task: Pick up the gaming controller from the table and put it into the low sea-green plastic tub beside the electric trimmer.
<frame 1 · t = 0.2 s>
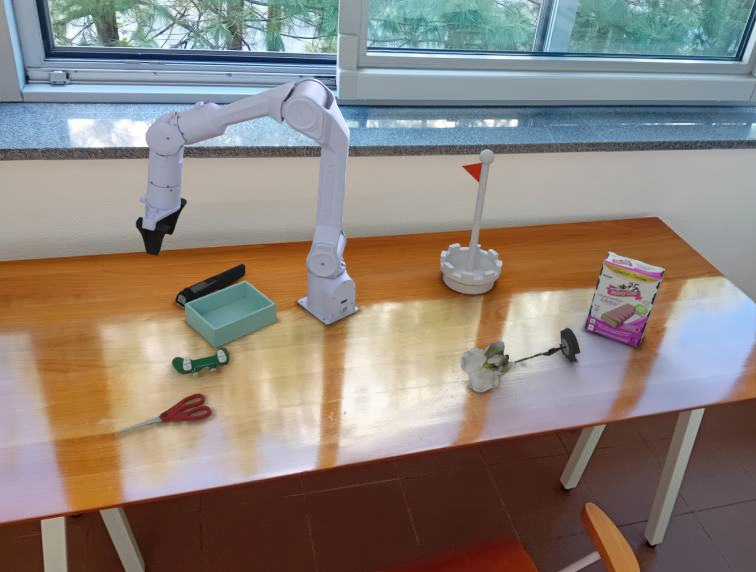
hand: (159, 243, 138), 10 cm above the table, tool pointing down, fingers open, 7 cm apart
tub: (231, 321, 137), on the table
flag stand: (468, 280, 157), on the table
electric trimmer: (211, 291, 144), on the table
gaming controller: (203, 369, 125), on the table
scissors: (163, 420, 114), on the table
artificial flower: (519, 372, 133), on the table
candy bar box: (613, 334, 145), on the table
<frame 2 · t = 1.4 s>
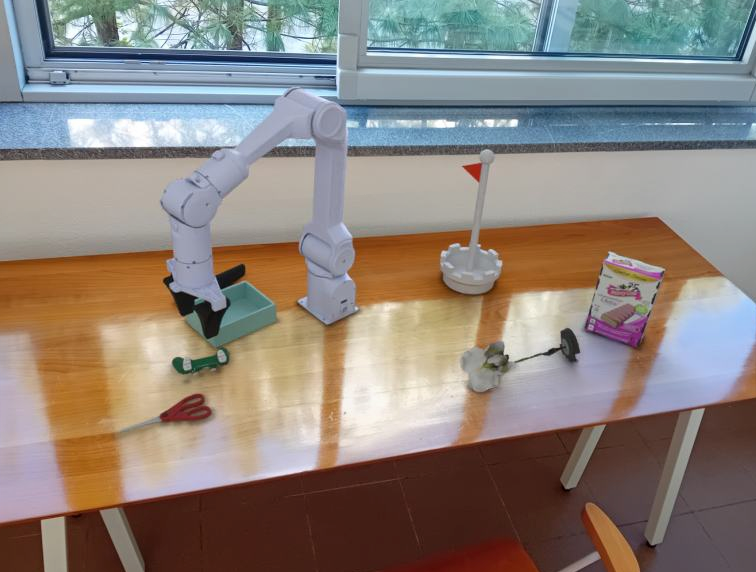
hand: (199, 324, 120), 9 cm above the table, tool pointing down, fingers open, 7 cm apart
nothing on the table moved.
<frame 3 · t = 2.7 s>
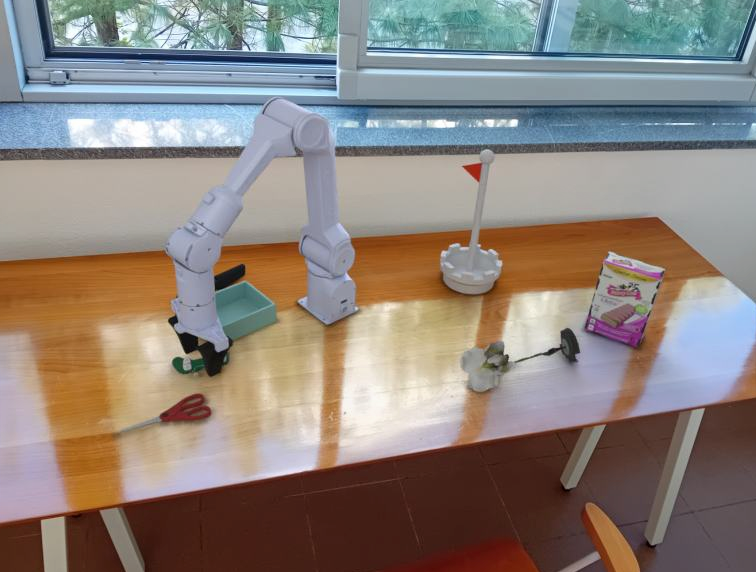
hand: (202, 362, 124), 1 cm above the table, tool pointing down, fingers closed on gaming controller, 7 cm apart
gaming controller: (203, 369, 125), on the table, touching gripper
everything else where it was.
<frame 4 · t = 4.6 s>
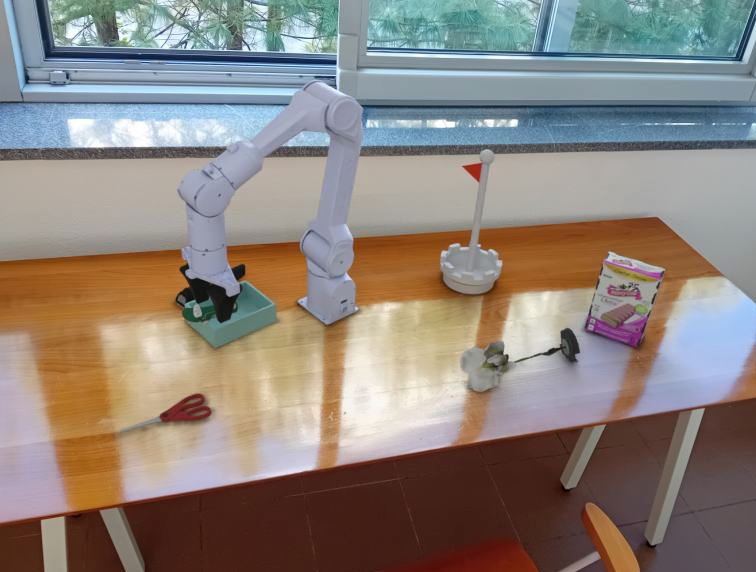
hand: (213, 310, 125), 8 cm above the table, tool pointing down, fingers closed on gaming controller, 6 cm apart
gaming controller: (212, 319, 126), point 6 cm above the table, touching gripper
everything else where it was.
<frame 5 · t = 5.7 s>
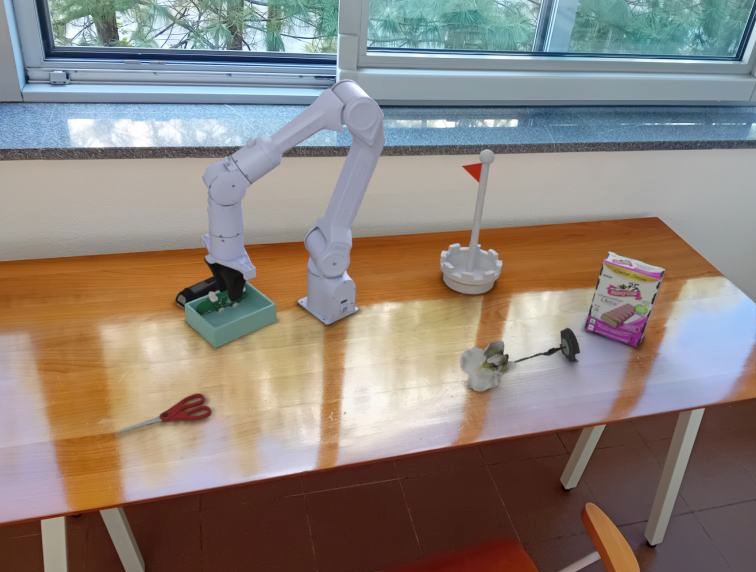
hand: (230, 294, 134), 6 cm above the table, tool pointing down, fingers closed on gaming controller, 3 cm apart
gaming controller: (225, 310, 135), point 3 cm above the table, touching gripper
everything else where it was.
when the fingers open (5 cm above the table, at t = 6.3 s): gaming controller drops 1 cm, resting on tub.
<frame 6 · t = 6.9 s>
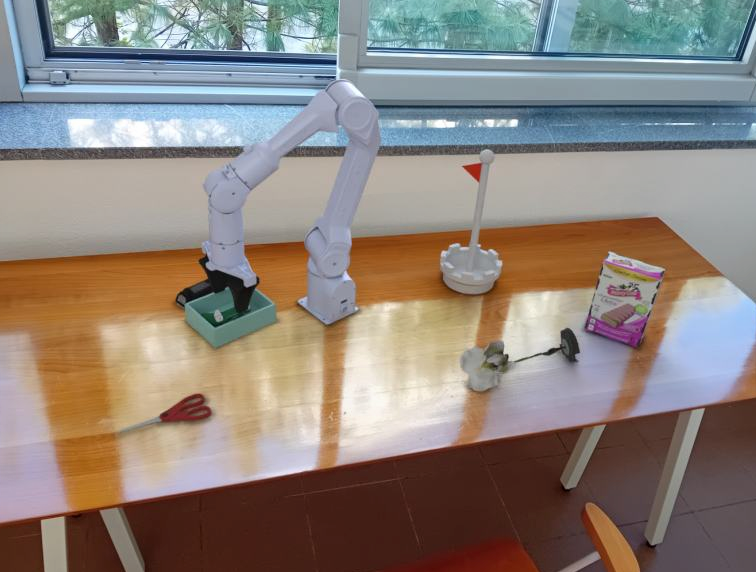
hand: (230, 300, 134), 5 cm above the table, tool pointing down, fingers open, 7 cm apart
gaming controller: (226, 321, 136), resting on tub
everything else where it was.
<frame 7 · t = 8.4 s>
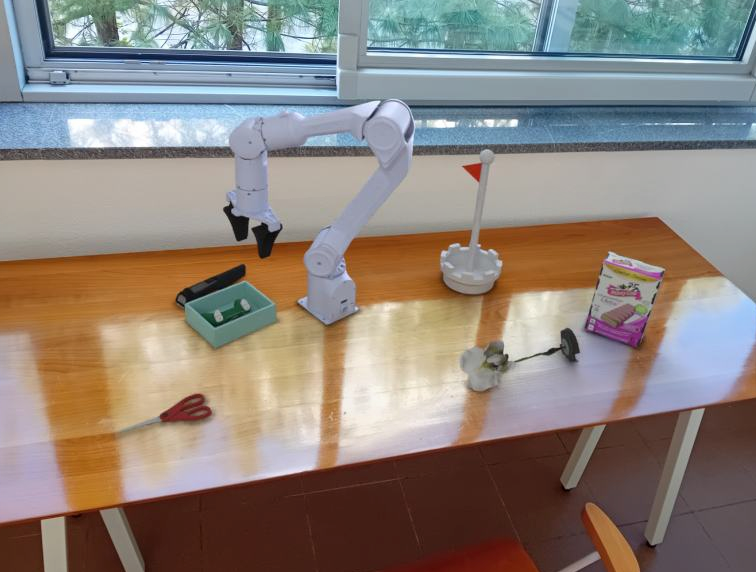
hand: (253, 248, 140), 10 cm above the table, tool pointing down, fingers open, 7 cm apart
nothing on the table moved.
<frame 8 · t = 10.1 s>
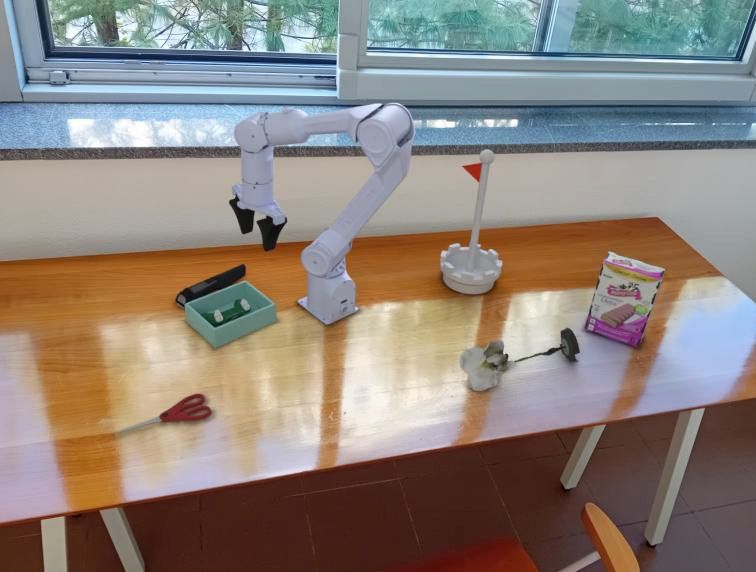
hand: (258, 240, 142), 10 cm above the table, tool pointing down, fingers open, 7 cm apart
nothing on the table moved.
at the end: gaming controller inside the target area in the tub (0.9 cm from its centre), point 0.3 cm above the tub's base; the gripper is holding nothing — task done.
